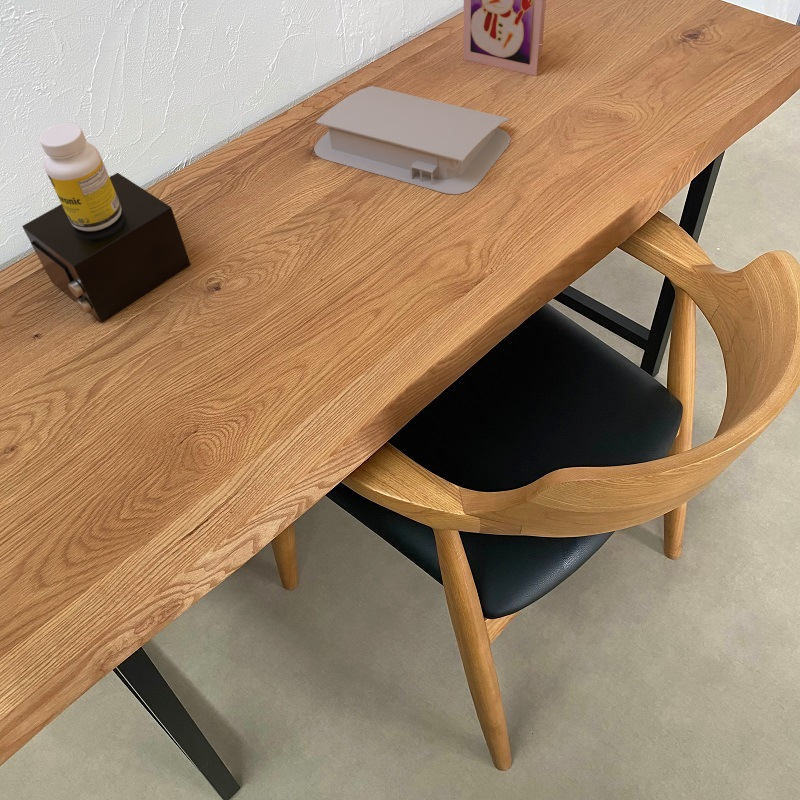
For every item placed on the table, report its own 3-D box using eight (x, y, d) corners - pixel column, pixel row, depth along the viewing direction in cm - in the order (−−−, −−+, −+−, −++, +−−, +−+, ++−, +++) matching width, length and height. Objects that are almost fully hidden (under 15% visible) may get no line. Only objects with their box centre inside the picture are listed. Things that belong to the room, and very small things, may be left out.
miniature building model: (466, 199, 94) (466, 170, 91) (305, 153, 102) (300, 126, 99) (518, 132, 102) (520, 104, 99) (365, 95, 110) (363, 68, 107)
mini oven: (95, 327, 84) (66, 270, 78) (45, 287, 89) (14, 229, 83) (191, 265, 90) (171, 206, 83) (140, 229, 94) (117, 172, 88)
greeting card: (460, 62, 115) (460, -49, 103) (483, 39, 119) (486, -71, 107) (533, 78, 111) (542, -36, 99) (555, 54, 115) (565, -58, 103)
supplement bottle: (60, 219, 83) (20, 136, 76) (104, 194, 86) (69, 111, 78) (89, 240, 81) (50, 156, 73) (133, 214, 83) (100, 130, 75)
